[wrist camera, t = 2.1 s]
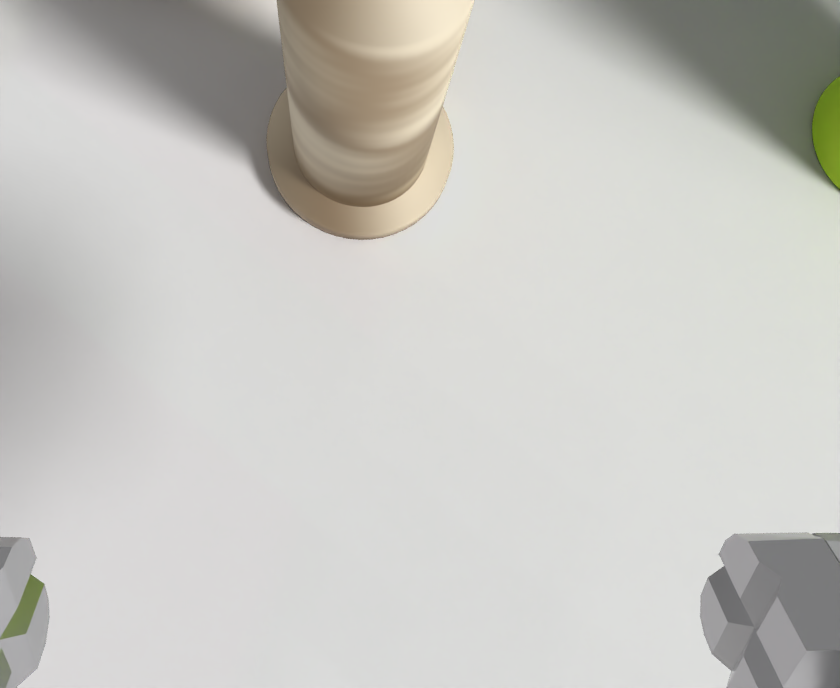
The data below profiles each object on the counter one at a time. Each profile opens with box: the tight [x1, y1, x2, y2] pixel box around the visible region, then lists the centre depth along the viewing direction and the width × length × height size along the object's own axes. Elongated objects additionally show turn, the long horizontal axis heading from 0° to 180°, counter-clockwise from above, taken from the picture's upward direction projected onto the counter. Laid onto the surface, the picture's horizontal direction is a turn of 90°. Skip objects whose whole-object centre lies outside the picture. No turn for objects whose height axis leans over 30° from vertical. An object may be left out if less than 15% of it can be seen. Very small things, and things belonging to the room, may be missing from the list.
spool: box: [267, 0, 475, 240], centre depth 22 cm, size 6×6×11 cm
